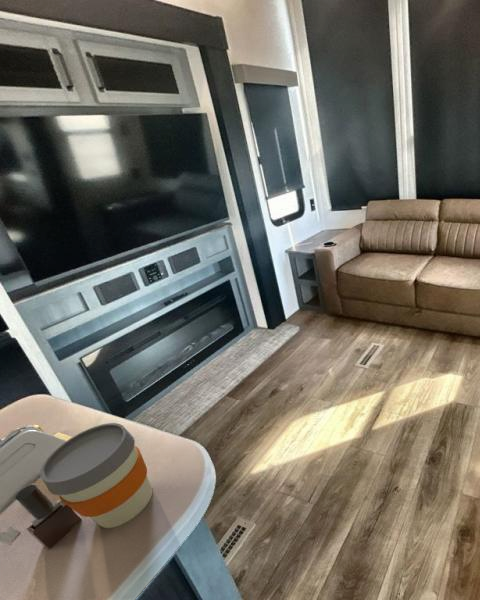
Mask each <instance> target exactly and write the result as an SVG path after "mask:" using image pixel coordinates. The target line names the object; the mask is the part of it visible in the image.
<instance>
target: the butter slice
mask: <svg viewBox="0 0 480 600" xmlns="http://www.w3.org/2000/svg"><path fill="white" fill-rule="evenodd" d="M32 426H33V427H35V428H37V429H39V430H41V431H42V432H43V433H46V432H45V430H43V428H42V427H41V426H40V425H37V424H33V425H32Z"/></svg>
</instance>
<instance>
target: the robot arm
mask: <svg viewBox="0 0 480 600" xmlns="http://www.w3.org/2000/svg"><path fill="white" fill-rule="evenodd" d="M53 435H54V434H53ZM53 435H52V434H49V433H46V432H45V433H43V432H42V431H41V430H39V429H37V428H35V427H33V425H25V426H24V425H23V426H21V427H19V428H17V427H16V428H14V429H12V430H11V431H9V432H8V433H7V434H6V436H4V437H1V439H0V516H1V515H2V514H3V513H4V512H6V510H7V509H9V507H11V506H12V505H13V504H14V503H15V502H16V501H18V500H17V499H16V495H17V494H18V493H19V492H20V491H21V490H22V489H24V488H25V487H27V486H30V485H35V483H36V482H37V481H38V480H39V479H41V476H40V470H41V468H42V465H43V464H44V462H45V460H46V459H47V458H48V457H49V456H50V454H52V453H53V452H54V451H55V450H56V449H57V448H58V447H59V446H61V445H62V444H63V443H64V442H66V441H65V440H63V439H60V438H58V437H55V436H53ZM21 534H22V531H20V530H17V529H16V530H15V528H13V527H8V529H7V530H6V531H5V532H4V531H3V532H0V542H1V543H3V544H6V545H9V546H11V545H12V544H14V542H15V541H17V539H18V538H19V537H20V536H21Z"/></svg>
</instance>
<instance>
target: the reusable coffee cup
mask: <svg viewBox="0 0 480 600" xmlns="http://www.w3.org/2000/svg"><path fill="white" fill-rule="evenodd" d="M71 437H72V438H70V439H69V440H67V441H66V442H64V443H63V444H62V445H61V446H59V447H58V448H57V449H56V450H55V451H54V452H53V453H52V454H50V456H49V457H48V458H47V459H46V460H45V462H44V464H43V465H42V468H41V470H40V476H41V477H40V479H41V480H42V482H43V483H44V485H45V486H46V488H47V490H48V492H49V493H51V494H53V495H55V496H56V495H57V496H59V499H60V501H62V502H63V503H65V504H66V505H67V506H69V507H70V508H72V509H73V511H74V512H75V513H76V514H77V515H80V516H81V517H84V518H89V519H91V520H92V521H94V522H95V523H96V524H97V525H99V526H100V527H101V528H105V529H113V528H117V527H119V526H122V525H124V524H126V523H128V522H130V521H131V520H132V519H135V517H136V516H138V515H139V514H140V513H141V512H142V511H143V510H144V509H145V508H146V507H147V505H148V504H149V503H150V501H151V498H152V495H153V487H152V484H151V482H150V480H149V477H148V468H147V464H146V463H145V460H144V458H143V455H142V452H141V450H140V448H139V447H138V446H136V445H135V444H136V440H135V438H134V436H133V435H132V434H131V432H129V430H128V429H127V428H125V426H124V425H123V424H120V423H118V422H116V423H115V422H108V423H107V422H106V423H103V424H98V425H95V426H93V427H90V428H88V429H85V430H83V431H81V432H79V433H77V434H76V435H74V436H71Z"/></svg>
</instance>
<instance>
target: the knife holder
mask: <svg viewBox="0 0 480 600" xmlns="http://www.w3.org/2000/svg"><path fill="white" fill-rule="evenodd" d="M58 502H59V503H60V504H61V505H62V507H61V508H59V509H58V510H57V511H56V512H55V513H54V514H52V515H51V516H50V517H49V518H48V519H46V520H45V521H44V522H43V523H42V524H40V525H39V526H38V527H37V528H35V527H34V526H33V525H32V524H30V525H29V526H28V527H27V528H25V530H26V531H27V532H28V533H29V534H30V535H31V536H32V537H33V538H35V540H36V541H37V542H38V543H40V544H41V546H43V547H44V548H46V549H47V550H51V549H52V548H53V547H54V546H55V545H56V544H57V543H58V542H59V541H60V540H62V539H63V538H64V537H65V536H66V535H68V533H70V531H71V530H73V529H74V528H75V527H76V526H77V525H78V524H79V523H80V522H82V518H81V517H80V516H79V514H78V513H77V512H76V511H74V510H73V509H72V508H70V507H69V506H67V505H66V504H65V503H63V502H62V501H61V500H59V501H58Z"/></svg>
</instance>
